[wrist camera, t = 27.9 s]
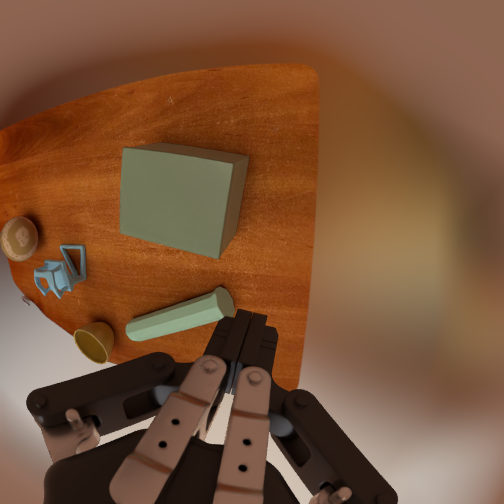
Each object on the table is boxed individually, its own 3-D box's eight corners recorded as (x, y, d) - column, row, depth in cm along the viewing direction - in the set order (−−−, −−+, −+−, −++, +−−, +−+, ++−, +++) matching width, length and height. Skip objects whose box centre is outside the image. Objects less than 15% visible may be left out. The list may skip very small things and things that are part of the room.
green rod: (126, 348, 56) (224, 323, 47) (116, 321, 56) (211, 289, 47) (144, 340, 61) (238, 315, 52) (135, 316, 62) (227, 284, 53)
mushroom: (1, 229, 55) (-9, 222, 44) (34, 216, 62) (30, 206, 50) (12, 267, 57) (4, 268, 46) (44, 253, 64) (43, 251, 52)
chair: (71, 276, 59) (38, 303, 49) (61, 244, 56) (25, 267, 45) (93, 279, 58) (60, 308, 47) (84, 244, 55) (46, 269, 44)
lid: (122, 231, 41) (119, 233, 40) (126, 146, 35) (122, 147, 35) (220, 256, 39) (218, 259, 39) (235, 162, 34) (233, 163, 33)
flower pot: (86, 326, 65) (70, 343, 59) (95, 305, 61) (77, 322, 55) (115, 351, 67) (101, 369, 60) (127, 333, 62) (112, 352, 56)
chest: (154, 215, 49) (127, 232, 41) (161, 142, 43) (131, 147, 35) (235, 233, 47) (220, 256, 39) (249, 156, 42) (235, 162, 34)
